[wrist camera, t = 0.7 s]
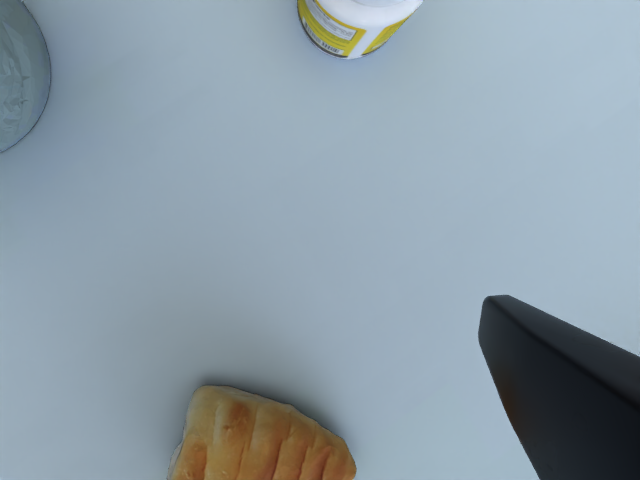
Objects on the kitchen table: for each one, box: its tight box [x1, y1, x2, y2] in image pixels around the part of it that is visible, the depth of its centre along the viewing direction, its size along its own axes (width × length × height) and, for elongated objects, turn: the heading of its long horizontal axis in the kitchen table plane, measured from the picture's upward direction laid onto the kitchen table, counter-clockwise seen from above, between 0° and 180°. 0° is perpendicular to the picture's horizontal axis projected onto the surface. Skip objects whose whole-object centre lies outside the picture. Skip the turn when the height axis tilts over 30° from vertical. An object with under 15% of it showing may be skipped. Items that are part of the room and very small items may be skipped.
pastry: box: [167, 385, 356, 480], centre depth 24 cm, size 9×7×4 cm
